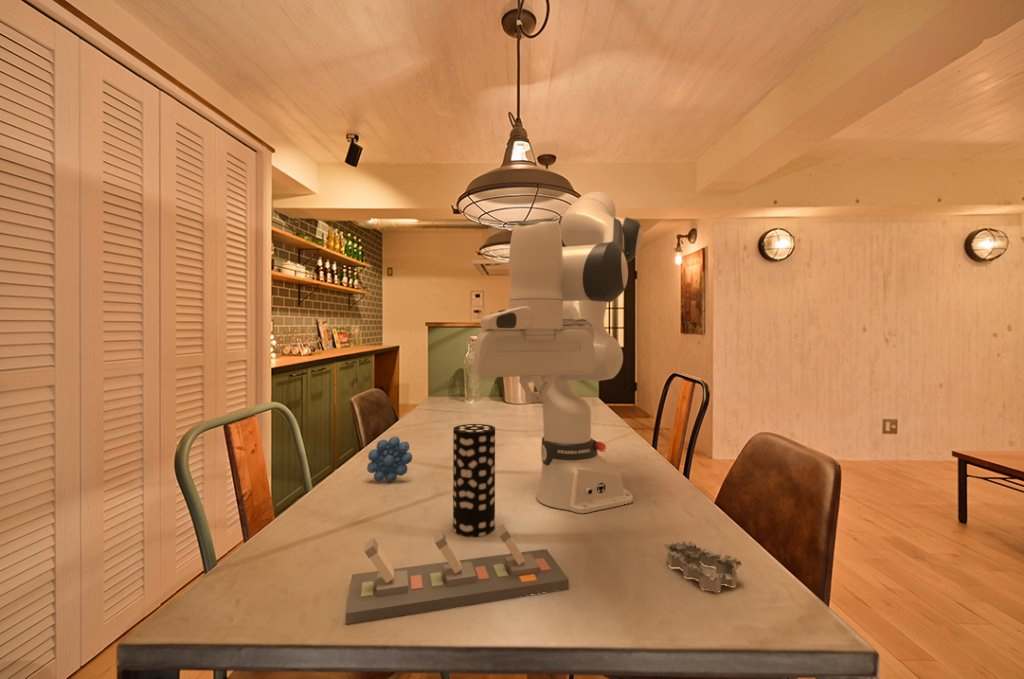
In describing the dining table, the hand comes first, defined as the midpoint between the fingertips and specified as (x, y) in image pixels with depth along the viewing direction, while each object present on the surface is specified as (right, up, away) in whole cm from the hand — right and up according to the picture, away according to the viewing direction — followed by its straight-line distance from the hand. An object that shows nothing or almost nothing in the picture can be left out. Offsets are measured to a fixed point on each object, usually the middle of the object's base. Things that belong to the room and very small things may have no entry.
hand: (535, 403), depth 73 cm
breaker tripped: (-2, -25, -2) cm, 25 cm away
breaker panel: (-12, -28, -4) cm, 30 cm away
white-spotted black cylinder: (-11, -28, +17) cm, 34 cm away
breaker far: (-22, -25, -7) cm, 34 cm away
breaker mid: (-12, -25, -4) cm, 28 cm away
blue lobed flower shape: (-36, -27, +44) cm, 63 cm away
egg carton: (+27, -28, 0) cm, 39 cm away
